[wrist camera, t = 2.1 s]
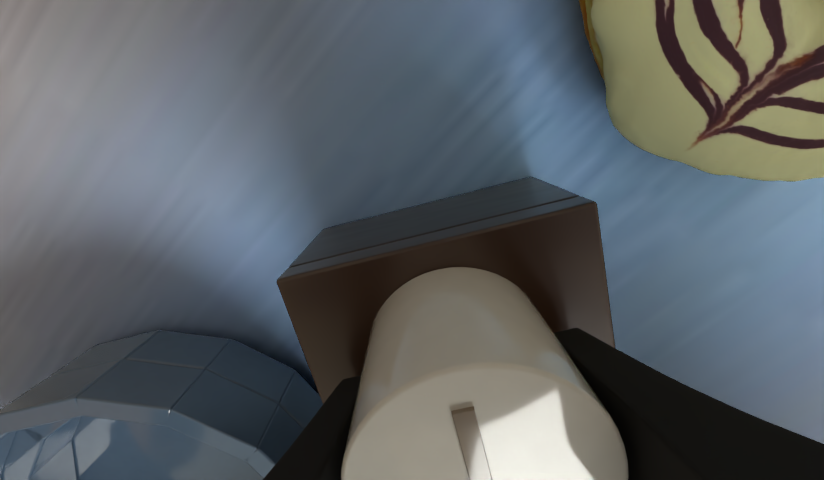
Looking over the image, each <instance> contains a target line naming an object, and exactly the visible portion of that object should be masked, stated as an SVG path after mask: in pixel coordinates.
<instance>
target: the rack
mask: <svg viewBox="0 0 824 480" xmlns="http://www.w3.org/2000/svg"><path fill="white" fill-rule="evenodd" d="M451 267H468V268H476V269H481V270H486V271H489V272H492V273H495V274H497V275H499V276H501V277H503V278H506V279H507V280H509V281H510V282H512V283H513V284H515V285H516V286H518V287H519V288H520V289H521V290H522V291H523V292H524V293H525V294H526V295H527V296H528V297H529V298H530V299H531V301H532V302H533V303H534V305H535V306H536V308H537V309H538V311H539V312H540V314H541V315H542V317H543V318H544V319H545V321H546V322H547V324H548V325H549V327H550V328H551V330H552V331H553V333H554V332H559V331H563V330H568V329H572V328H579V329H581V330H583V331H585V332H587V333H589V334H590V335H592V336H594V337H596V338H597V339H599V340H601V341H603V342H605V343H606V344H608V345H610V346H612V347H614V348H615V342H614V334H613V326H612V319H611V311H610V303H609V295H608V287H607V279H606V271H605V263H604V256H603V248H602V240H601V232H600V224H599V216H598V208H597V204H596V202H594V201H592V200H589V199H587V198H584V197H581V196H579V195H576V194H574V193H571V192H569V191H567V190H564V189H562V188H559V187H557V186H554V185H552V184H549V183H547V182H544V181H542V180H539V179H537V178H534V177H528V178H524V179H520V180H516V181H512V182H508V183H504V184H500V185H496V186H492V187H488V188H484V189H480V190H476V191H472V192H468V193H464V194H460V195H456V196H452V197H448V198H444V199H440V200H436V201H433V202H429V203H425V204H421V205H417V206H413V207H409V208H405V209H401V210H397V211H393V212H389V213H385V214H381V215H377V216H373V217H369V218H365V219H361V220H357V221H353V222H349V223H345V224H341V225H338V226H334V227H330V228H326V229H323V230H322V231H321V232H320V233H319V234H318V236H317V237H316V238H315V239H314V240H313V241H312V242H311V243H310V244H309V245H308V247H307V248H306V249H305V250H304V251H303V252H302V253H301V254H300V255H299V256H298V258H297V259H296V260H295V261H294V262H293V263H292V264H291V265H290V266H289V268H288V269H287V270H286V271H285V272H284V273H283V274H282V275H281V276H280V277H279V278H278V279H277V285H278V287H279V290H280V293H281V295H282V298H283V300H284V303H285V306H286V308H287V311H288V314H289V316H290V319H291V321H292V324H293V327H294V329H295V332H296V335H297V337H298V340H299V343H300V345H301V348H302V350H303V353H304V356H305V358H306V361H307V364H308V366H309V369H310V371H311V374H312V377H313V379H314V382H315V385H316V387H317V390H318V392H319V395H320V398H321V400H322V403H323V404H324V402H325V401H326V400H327V399H328V397H329V396H330V395H331V393H332V392H333V391H334V389H335V388H336V387H337V386H338V385H339V383H340V382H341V381H342V380H343V379H346V378H351V377H355V376H360V375H361V374H362V369H363V364H364V360H365V355H366V351H367V346H368V341H369V337H370V332H371V328H372V325H373V322H374V320H375V317H376V316H377V314H378V312H379V310H380V308H381V307H382V305H383V304H384V303H385V301H386V300H387V299H388V298H389V297H390V296H391V295H392V294H393V293H394V292H395V291H396V290H397V289H398V288H400V287H401V286H402V285H403V284H405V283H407V282H408V281H410V280H412V279H413V278H415V277H418V276H420V275H422V274H424V273H428V272H431V271H434V270H438V269H444V268H451Z"/></svg>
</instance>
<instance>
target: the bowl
mask: <svg viewBox="0 0 824 480" xmlns="http://www.w3.org/2000/svg"><path fill="white" fill-rule="evenodd" d="M322 405H323V403H322V400H321V398H320V395H319V394H318V393H317V392H316V391H315V390H314V389H313V388H312V387H311V386H310V385H309V384H308V383H307V382H306V381H305V380H304V379H303V378H302V376H301V375H300V374H299V373H298V372H297V371H295V369H293V368H291V367H289V366H287V365H285V364H283V363H281V362H279V361H277V360H275V359H272V358H270V357H268V356H266V355H264V354H262V353H260V352H258V351H256V350H254V349H252V348H250V347H248V346H246V345H244V344H242V343H240V342H238V341H236V340H234V339H232V340H231V339H227V338H220V337H212V336H204V335H196V334H188V333H180V332H172V331H164V330H162V331H161V330H156V331H152V332H148V333H144V334H140V335H136V336H131V337H127V338H123V339H119V340H115V341H111V342H106V343H102V344H98V345H96V346H94V347H92V348H91V349H89V350H88V351H86V352H85V353H83V354H82V355H80V356H79V357H77V358H76V359H75V360H73V361H72V362H70V363H69V364H67V365H66V366H64V367H63V368H61V369H60V370H58V371H57V372H55V373H54V374H52V375H51V376H50V377H49V378H46V379H45V380H44V381H42V382H41V383H39V384H38V385H36V386H35V387H33V388H32V389H30V390H29V391H27V392H26V393H24V394H23V395H21V396H20V397H18V398H17V399H16V400H14V401H13V402H11V403H10V404H8V405H7V406H5V407H4V408H2V409H1V410H0V480H263V479H264V478H265V476H266V475H267V474H268V473H269V472H270V470H271V469H272V468H273V467H274V466H275V465H276V463H277V462H278V461H279V460H280V459H281V457H282V456H283V455H284V454H285V453H286V451H287V450H288V449H289V448H290V446H291V445H292V444H293V443H294V441H295V440H296V439H297V437H298V436H299V435H300V434H301V432H302V431H303V430H304V429H305V427H306V426H307V425H308V423H309V422H310V421H311V420H312V418H313V417H314V416H315V414H316V413H317V412H318V410H319V409H320V408H321V406H322Z"/></svg>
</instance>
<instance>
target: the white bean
mask: <svg viewBox="0 0 824 480" xmlns="http://www.w3.org/2000/svg"><path fill="white" fill-rule="evenodd" d="M341 480H628V459H627V454H626V449H625V445H624V442H623V439H622V437H621V434H620V432H619V429H618V427H617V426H616V424H615V423H614V421H613V419H612V418H611V416H610V415H609V413H608V412H607V410H606V409H605V407H604V406H603V404H602V403H601V401H600V400H599V398H598V397H597V395H596V394H595V393H594V391H593V390H592V388H591V387H590V385H589V384H588V382H587V381H586V379H585V378H584V376H583V375H582V374H581V372H580V371H579V369H578V368H577V366H576V365H575V363H574V362H573V360H572V359H571V357H570V356H569V355H568V353H567V352H566V350H565V349H564V347H563V346H562V344H561V343H560V341H559V340H558V338H557V337H556V336H555V334H554V333H553V331H552V330H551V328H550V327H549V325H548V324H547V322H546V321H545V319H544V318H543V317H542V315H541V314H540V312H539V311H538V309H537V308H536V306H535V305H534V303H533V302H532V301H531V299H530V298H529V297H528V296H527V295H526V294H525V293H524V292H523V291H522V290H521V289H520V288H519V287H518V286H516V285H515V284H513V283H512V282H510V281H509V280H507V279H506V278H503V277H501V276H499V275H497V274H495V273H492V272H489V271H486V270H481V269H476V268H468V267H451V268H444V269H438V270H434V271H431V272H428V273H424V274H422V275H420V276H418V277H415V278H413V279H412V280H410V281H408V282H407V283H405V284H403V285H402V286H401V287H400V288H398V289H397V290H396V291H395V292H394V293H393V294H392V295H391V296H390V297H389V298H388V299H387V300H386V301H385V303H384V304H383V305H382V307H381V308H380V310H379V312H378V314H377V316H376V317H375V320H374V322H373V325H372V328H371V332H370V337H369V341H368V346H367V351H366V355H365V360H364V364H363V369H362V374H361V378H360V383H359V388H358V392H357V397H356V402H355V406H354V411H353V415H352V420H351V425H350V429H349V434H348V439H347V443H346V448H345V452H344V457H343V462H342V467H341Z"/></svg>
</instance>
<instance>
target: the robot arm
mask: <svg viewBox="0 0 824 480" xmlns="http://www.w3.org/2000/svg"><path fill="white" fill-rule="evenodd" d="M554 334H555V336H556V337H557V338H558V340H559V341H560V343H561V344H562V346H563V347H564V349H565V350H566V352H567V353H568V355H569V356H570V357H571V359H572V360H573V362H574V363H575V365H576V366H577V368H578V369H579V371H580V372H581V374H582V375H583V376H584V378H585V379H586V381H587V382H588V384H589V385H590V387H591V388H592V390H593V391H594V393H595V394H596V395H597V397H598V398H599V400H600V401H601V403H602V404H603V406H604V407H605V409H606V410H607V412H608V413H609V415H610V416H611V418H612V419H613V421H614V423H615V424H616V426H617V427H618V429H619V432H620V434H621V437H622V439H623V442H624V445H625V449H626V454H627V459H628V480H824V444H822V443H820V442H817V441H815V440H812V439H810V438H807V437H804V436H802V435H799V434H797V433H794V432H792V431H789V430H787V429H784V428H782V427H779V426H777V425H774V424H772V423H769V422H767V421H764V420H762V419H759V418H757V417H755V416H752V415H750V414H748V413H745V412H743V411H740V410H738V409H736V408H734V407H731V406H729V405H727V404H725V403H723V402H721V401H718V400H716V399H714V398H712V397H710V396H708V395H705V394H703V393H701V392H699V391H697V390H695V389H692V388H690V387H688V386H686V385H684V384H682V383H680V382H678V381H676V380H674V379H672V378H670V377H668V376H666V375H664V374H662V373H660V372H658V371H656V370H654V369H652V368H651V367H649V366H647V365H645V364H643V363H641V362H639V361H637V360H635V359H634V358H632V357H630V356H628V355H626V354H624V353H623V352H621V351H619V350H617V349H615V348H614V347H612V346H610V345H608V344H606V343H605V342H603V341H601V340H599V339H597V338H596V337H594V336H592V335H590V334H589V333H587V332H585V331H583V330H581V329H579V328H572V329H568V330H563V331H559V332H554ZM360 378H361V375H360V376H355V377H351V378H346V379H343V380H342V381H341V382H340V383H339V385H338V386H337V387H336V388H335V389H334V391H333V392H332V393H331V395H330V396H329V397H328V399H327V400H326V401H325V402H324V404H323V405H322V406H321V408H320V409H319V410H318V412H317V413H316V414H315V416H314V417H313V418H312V420H311V421H310V422H309V423H308V425H307V426H306V427H305V429H304V430H303V431H302V432H301V434H300V435H299V436H298V437H297V439H296V440H295V441H294V443H293V444H292V445H291V446H290V448H289V449H288V450H287V451H286V453H285V454H284V455H283V456H282V457H281V459H280V460H279V461H278V462H277V463H276V465H275V466H274V467H273V468H272V469H271V470H270V472H269V473H268V474H267V475H266V476H265V478H264V479H263V480H341V467H342V462H343V457H344V452H345V448H346V443H347V439H348V434H349V429H350V425H351V420H352V415H353V411H354V406H355V402H356V397H357V392H358V388H359V383H360Z"/></svg>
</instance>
